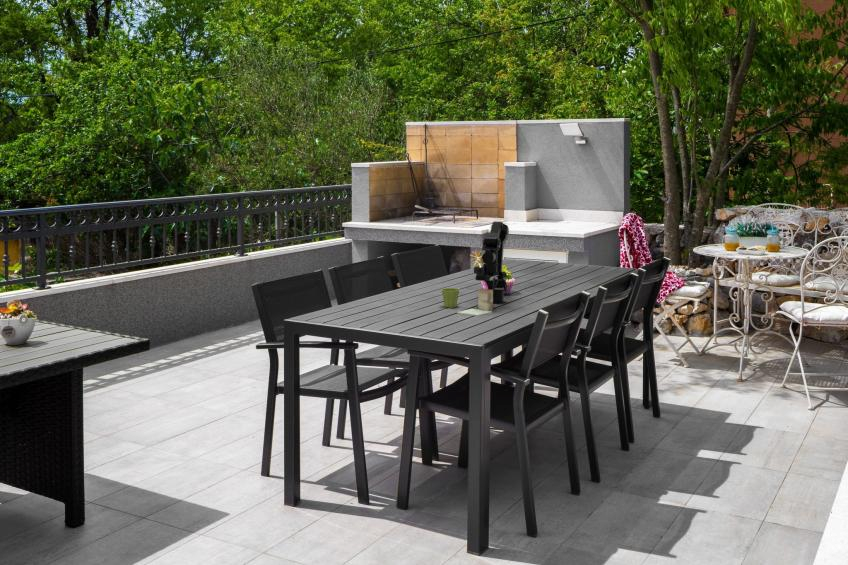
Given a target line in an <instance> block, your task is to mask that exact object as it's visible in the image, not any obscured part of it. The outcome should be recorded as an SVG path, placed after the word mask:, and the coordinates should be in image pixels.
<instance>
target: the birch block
mask: <svg viewBox="0 0 848 565" xmlns="http://www.w3.org/2000/svg"><path fill="white" fill-rule="evenodd" d="M477 294H478V300H477V301H478V303H477V305H478V306H477V307H478V308H477V309H478V310H485V311H494V307H493V306H494V303H493V290H491V289H488V288H481V289H478V292H477Z"/></svg>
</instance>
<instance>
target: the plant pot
mask: <svg viewBox="0 0 848 565" xmlns="http://www.w3.org/2000/svg"><path fill="white" fill-rule="evenodd" d="M440 291H441V293H442V299H443V304H444V305H443V306H444V308H449V309H451V308H457V307H458V299H459V294H460V291H461V289H460V288H457V287H456V288H454V287H453V288H452V287H451V288H450V287H448V288H447V287H446V288H445V287H444V288H441V289H440Z"/></svg>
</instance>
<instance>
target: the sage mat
mask: <svg viewBox="0 0 848 565" xmlns="http://www.w3.org/2000/svg"><path fill="white" fill-rule="evenodd" d="M456 313H457V314H462V315H468V316H475V317H478V316H483V315H484V316H485V315H488V314H491V313H493V310H491V311H485V310H478V308H469V309H464V310H461V311H460V310H459V311H456Z"/></svg>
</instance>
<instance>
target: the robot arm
mask: <svg viewBox="0 0 848 565" xmlns="http://www.w3.org/2000/svg"><path fill="white" fill-rule="evenodd" d="M509 229H510V227H509V225H508V224H505V223H504V222H503V221H493V222H492V224H491V227H490V231H489V233H486V234H485V236H484V237H483V241H482V248H481V251H484V253H483V254H482V255H481V261H482V263H483V265H482V267H480V266H478V265H477V266H474V267H473V273H474V274H475V281H481V282H484V283H486V286H487V289H491V290H493V304H504V303H506V302H507V301H506V300H505V299H504V292H507V291H508V283H507V280H506V279H505V278H507V277H508V276H507V272H506V270H505V271H504V270H503V264H504V263H503V262H504V259H503V258H504V246H505V245H504V244H505V242H506V241H507V239H508V235H509V234H510V233H509V232H510V230H509Z"/></svg>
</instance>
